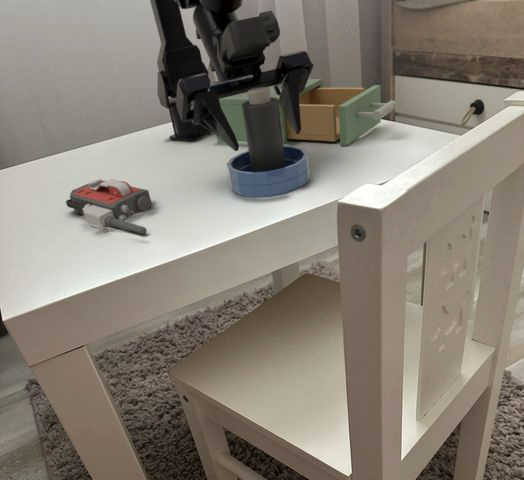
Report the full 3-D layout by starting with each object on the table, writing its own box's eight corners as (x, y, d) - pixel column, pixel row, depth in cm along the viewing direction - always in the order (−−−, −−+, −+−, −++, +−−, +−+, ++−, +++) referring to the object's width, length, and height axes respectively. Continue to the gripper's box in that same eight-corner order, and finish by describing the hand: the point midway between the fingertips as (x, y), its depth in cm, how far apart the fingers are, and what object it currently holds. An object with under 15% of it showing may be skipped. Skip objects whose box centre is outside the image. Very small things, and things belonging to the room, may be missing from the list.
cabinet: (325, 124, 97) (322, 78, 92) (285, 148, 88) (280, 100, 84) (260, 121, 104) (254, 79, 100) (218, 143, 96) (210, 99, 91)
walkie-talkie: (56, 217, 77) (141, 245, 66) (45, 188, 75) (131, 211, 63) (105, 195, 82) (191, 217, 70) (96, 167, 79) (184, 185, 68)
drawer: (404, 123, 88) (405, 85, 84) (371, 147, 80) (371, 106, 77) (312, 119, 97) (309, 85, 93) (275, 141, 89) (271, 104, 86)
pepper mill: (246, 185, 75) (232, 94, 68) (265, 173, 78) (253, 85, 70) (274, 189, 72) (263, 94, 65) (293, 176, 75) (284, 84, 68)
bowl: (216, 197, 75) (211, 169, 73) (261, 169, 82) (257, 143, 79) (282, 206, 69) (278, 176, 67) (324, 175, 76) (322, 147, 74)
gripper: (160, 4, 62) (209, 119, 60) (300, -23, 67) (350, 84, 65) (159, 71, 73) (201, 171, 71) (280, 44, 77) (322, 136, 76)
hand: (268, 140), depth 70 cm, fingers open, 9 cm apart
